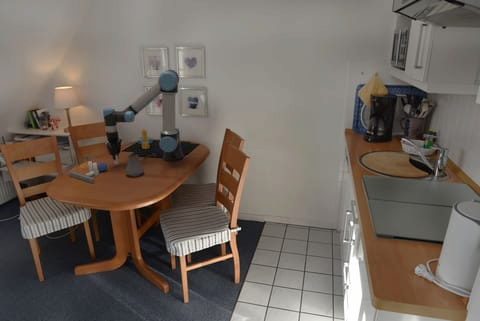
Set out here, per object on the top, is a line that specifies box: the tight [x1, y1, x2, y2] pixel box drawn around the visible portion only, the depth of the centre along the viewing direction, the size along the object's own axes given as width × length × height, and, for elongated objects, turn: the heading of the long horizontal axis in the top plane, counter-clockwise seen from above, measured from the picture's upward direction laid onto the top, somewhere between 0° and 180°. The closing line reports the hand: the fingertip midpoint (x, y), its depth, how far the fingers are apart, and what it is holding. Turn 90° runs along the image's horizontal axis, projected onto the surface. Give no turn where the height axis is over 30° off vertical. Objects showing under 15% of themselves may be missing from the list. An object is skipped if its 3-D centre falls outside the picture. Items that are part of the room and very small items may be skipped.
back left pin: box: [92, 162, 99, 177], centre depth 219 cm, size 2×2×8 cm
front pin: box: [84, 170, 100, 177], centre depth 221 cm, size 2×2×8 cm
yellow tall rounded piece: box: [137, 129, 154, 150], centre depth 274 cm, size 12×10×15 cm
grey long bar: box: [68, 171, 96, 184], centre depth 215 cm, size 24×2×2 cm, turn 58°
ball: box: [97, 161, 108, 172], centre depth 227 cm, size 6×6×6 cm
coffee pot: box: [125, 153, 157, 177], centre depth 218 cm, size 21×12×15 cm, turn 82°
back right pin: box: [87, 160, 94, 173], centre depth 222 cm, size 2×2×8 cm
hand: (116, 163), depth 236 cm, fingers closed
